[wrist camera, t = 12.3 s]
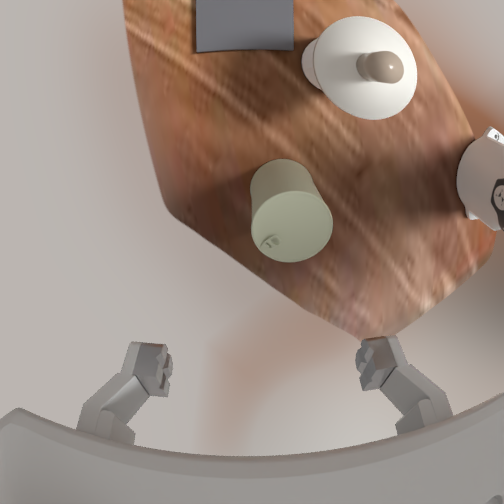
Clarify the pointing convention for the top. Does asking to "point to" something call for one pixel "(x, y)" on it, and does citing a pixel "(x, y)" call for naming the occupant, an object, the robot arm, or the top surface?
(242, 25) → the mat
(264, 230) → the can
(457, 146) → the top surface
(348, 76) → the lid
